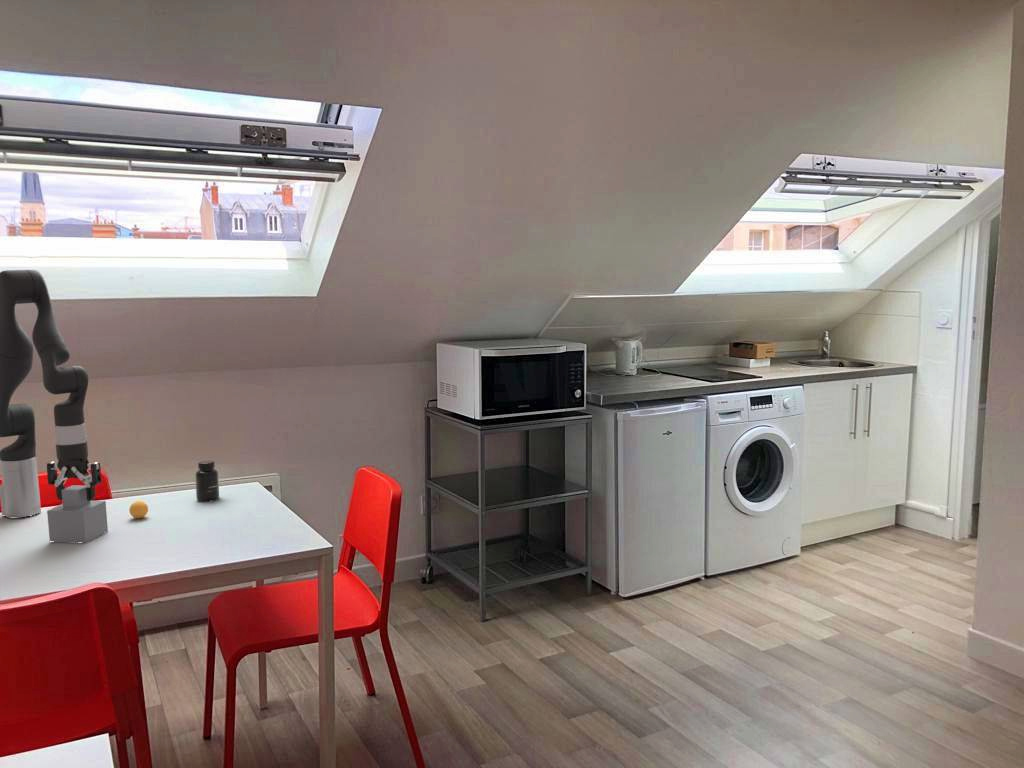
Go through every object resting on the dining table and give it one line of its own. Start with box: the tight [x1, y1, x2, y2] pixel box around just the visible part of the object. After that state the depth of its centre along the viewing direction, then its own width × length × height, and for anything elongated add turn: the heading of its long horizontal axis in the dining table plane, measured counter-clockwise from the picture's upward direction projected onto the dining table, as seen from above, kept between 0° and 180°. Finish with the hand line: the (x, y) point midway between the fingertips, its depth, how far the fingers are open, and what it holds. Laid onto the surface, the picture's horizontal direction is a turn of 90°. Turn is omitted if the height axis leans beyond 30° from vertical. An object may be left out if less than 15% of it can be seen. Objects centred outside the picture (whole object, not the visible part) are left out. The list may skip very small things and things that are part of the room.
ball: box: [128, 500, 149, 519], centre depth 246 cm, size 5×5×5 cm
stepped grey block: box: [46, 484, 109, 544], centre depth 228 cm, size 10×10×14 cm
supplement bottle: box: [194, 460, 220, 502], centre depth 265 cm, size 7×7×12 cm
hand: (76, 499), depth 228 cm, fingers open, 7 cm apart
